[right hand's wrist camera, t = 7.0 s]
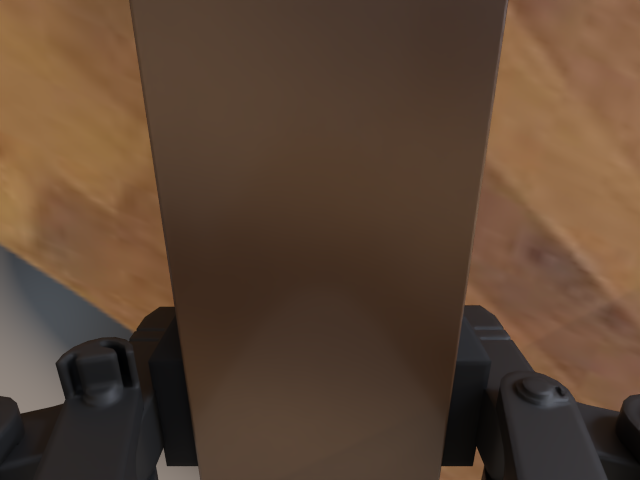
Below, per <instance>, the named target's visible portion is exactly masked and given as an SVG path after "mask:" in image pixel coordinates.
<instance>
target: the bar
mask: <svg viewBox="0 0 640 480" xmlns="http://www.w3.org/2000/svg"><path fill="white" fill-rule="evenodd" d="M129 2H130V9H131V16H132V22H133V29H134V36H135V43H136V49H137V56H138V63H139V70H140V76H141V83H142V90H143V97H144V103H145V110H146V117H147V124H148V130H149V137H150V144H151V150H152V157H153V164H154V171H155V177H156V184H157V191H158V198H159V204H160V211H161V218H162V225H163V231H164V238H165V245H166V251H167V258H168V265H169V272H170V278H171V285H172V292H173V299H174V305H175V312H176V319H177V326H178V332H179V339H180V346H181V352H182V359H183V366H184V373H185V379H186V386H187V393H188V400H189V406H190V413H191V420H192V427H193V433H194V440H195V447H196V454H197V460H198V467H199V474H200V480H439V478H440V471H441V464H442V457H443V450H444V443H445V436H446V429H447V422H448V416H449V409H450V402H451V395H452V388H453V381H454V374H455V367H456V360H457V353H458V346H459V339H460V332H461V325H462V318H463V311H464V305H465V298H466V291H467V284H468V277H469V270H470V263H471V256H472V249H473V242H474V235H475V228H476V221H477V214H478V207H479V200H480V193H481V187H482V180H483V173H484V166H485V159H486V152H487V145H488V138H489V131H490V124H491V117H492V110H493V103H494V96H495V89H496V82H497V76H498V69H499V62H500V55H501V48H502V41H503V34H504V27H505V20H506V13H507V6H508V0H129Z"/></svg>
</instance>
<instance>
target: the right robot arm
mask: <svg viewBox="0 0 640 480" xmlns="http://www.w3.org/2000/svg"><path fill="white" fill-rule="evenodd" d="M56 367H57V370H58V374H59V378H60V381H61V385H62V388H63V392H64V396H65V402H64V404H60V405H57V406H53V407H49V408H45V409H40V410H35V411H31V412H27V413H22V414H20V411H19V408H18V405H17V403H16V402H15V401H14V400H12V399H11V398H9V397H3V396H0V480H158V475H157V470H156V464H157V462H158V460H159V457H160V455H161V452H162V450H163V447H164V452H165V458H166V463H167V466H198V460H197V454H196V447H195V440H194V433H193V427H192V420H191V413H190V406H189V400H188V393H187V386H186V379H185V373H184V366H183V359H182V352H181V346H180V339H179V332H178V326H177V319H176V312H175V307H159V308H157V309H156V310H155V311H153V312H152V313H150V314H149V315H147V316H146V317H145V318H144V319H143V321H142V322H141V324H140V325H139V326H138V328H137V331H135V332H134V333H133V335H132V336H131V338H130V341H127V340H125V339H121V338H117V337H107V338H99V339H95V340H90V341H87V342H84V343H82V344H80V345H77V346H75V347H73V348H72V349H70V350H69V351H67V352H66V353H64V354H63V355H62V356H61V357H60V359H59V360H58V361H57V362H56ZM476 446H477V448H478V451H479V453H480V456H481V458H482V461H483V463H484V469H483V475H482V480H640V394H638V395H632V396H629V397H628V398H627V399H625V400H624V401H623V404H622V407H621V410H620V412H617V411H613V410H608V409H604V408H599V407H595V406H590V405H586V404H582V403H579V402H576V401H575V399H574V397H573V396H572V394H571V393H570V391H569V390H568V389H567V388H566V387H564V386H563V385H562V384H561V383H559V382H558V381H556V380H554V379H552V378H550V377H548V376H546V375H544V374H540V373H536V372H535V371H534V370H533V369H532V367H531V366H530V364H529V363H528V361H527V360H526V359H525V357H524V356H523V354H522V353H521V352H520V350H519V349H518V347H517V346H516V345H515V343H514V342H513V340H510V336H509V335H508V333H507V332H506V331H505V330H503V326H502V325H501V324H500V322H499V321H498V319H497V318H496V317H495V315H493V314H492V313H490V312H489V311H487V310H486V309H484V308H483V307H481V306H480V305H464V311H463V318H462V325H461V332H460V339H459V346H458V353H457V360H456V367H455V374H454V381H453V388H452V395H451V402H450V409H449V416H448V422H447V429H446V436H445V443H444V450H443V457H442V464H441V466H473V462H474V456H475V451H476Z"/></svg>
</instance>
